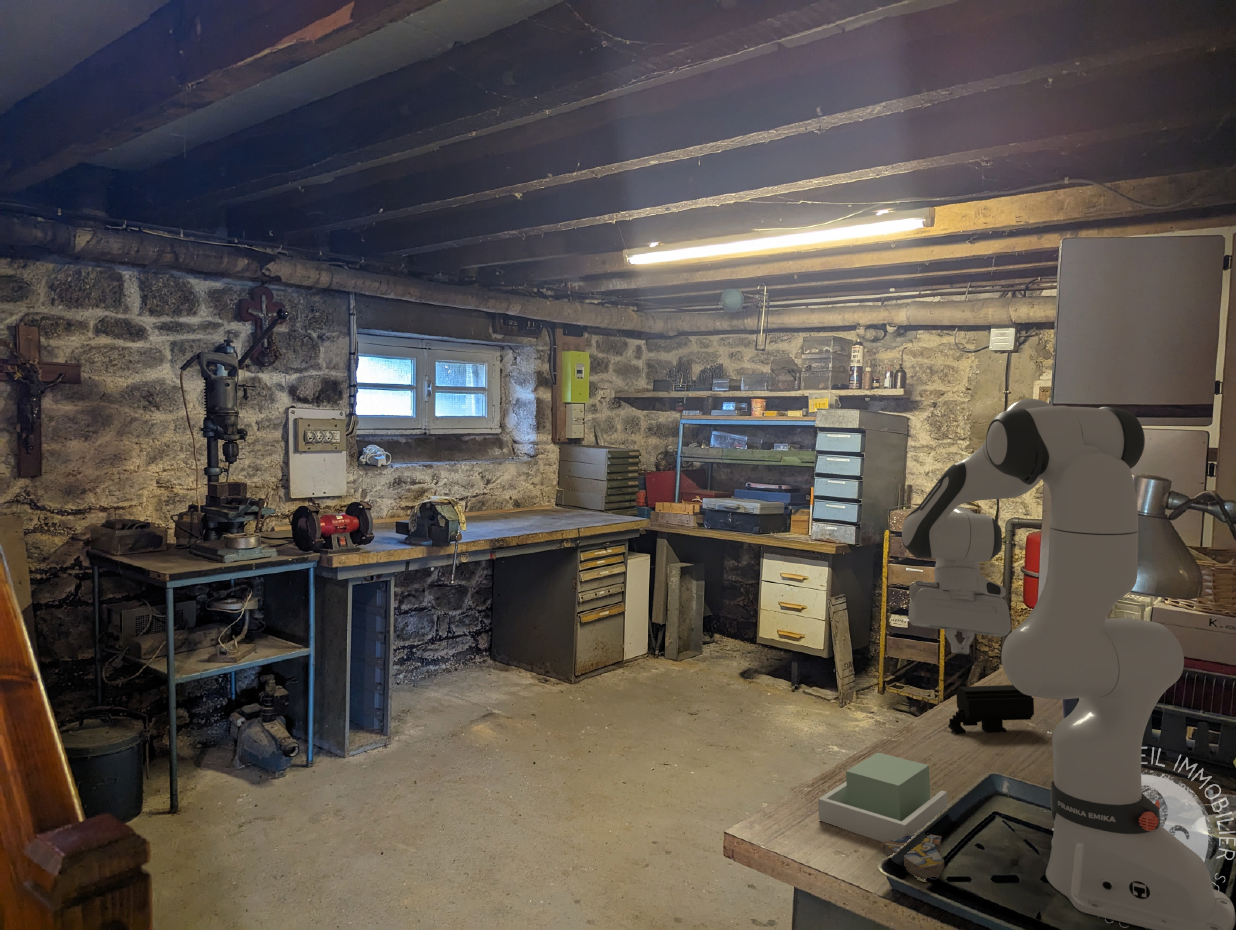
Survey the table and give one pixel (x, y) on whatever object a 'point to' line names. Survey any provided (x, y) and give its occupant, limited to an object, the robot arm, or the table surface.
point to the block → (888, 786)
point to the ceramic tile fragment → (918, 855)
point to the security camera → (990, 707)
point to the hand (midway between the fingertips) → (960, 653)
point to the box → (876, 816)
